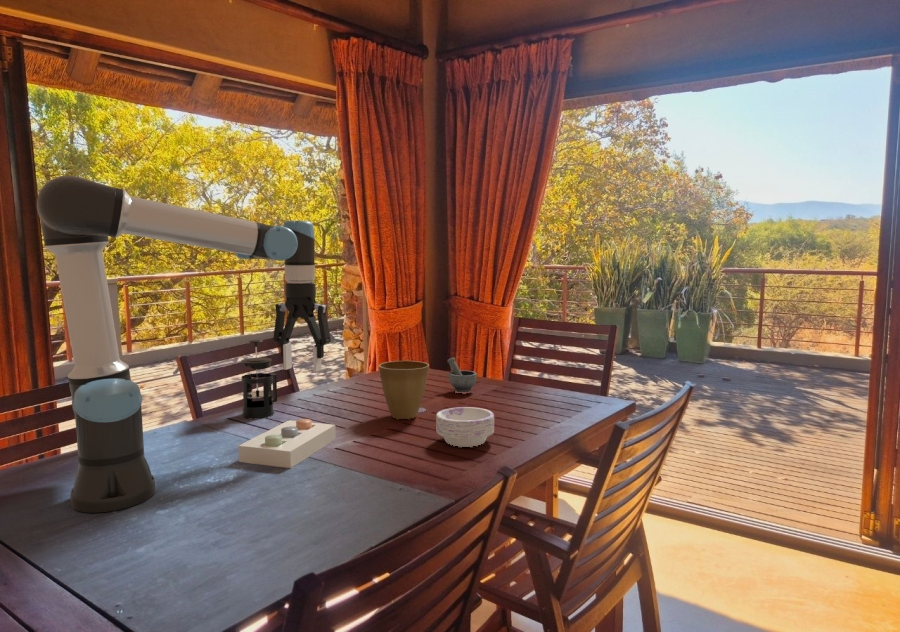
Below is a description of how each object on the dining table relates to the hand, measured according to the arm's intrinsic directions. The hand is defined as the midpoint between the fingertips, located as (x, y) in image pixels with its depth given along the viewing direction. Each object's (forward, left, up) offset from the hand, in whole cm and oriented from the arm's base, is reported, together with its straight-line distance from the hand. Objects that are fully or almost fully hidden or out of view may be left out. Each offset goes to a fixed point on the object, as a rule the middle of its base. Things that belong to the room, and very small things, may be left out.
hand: (302, 369), depth 156 cm
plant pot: (+30, -16, -20) cm, 39 cm away
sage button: (-14, 0, -18) cm, 23 cm away
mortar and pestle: (+65, -24, -20) cm, 72 cm away
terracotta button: (0, 0, -18) cm, 18 cm away
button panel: (-7, 0, -19) cm, 20 cm away
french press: (+19, +27, -19) cm, 38 cm away
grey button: (-7, 0, -18) cm, 19 cm away
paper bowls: (+12, -40, -20) cm, 47 cm away
